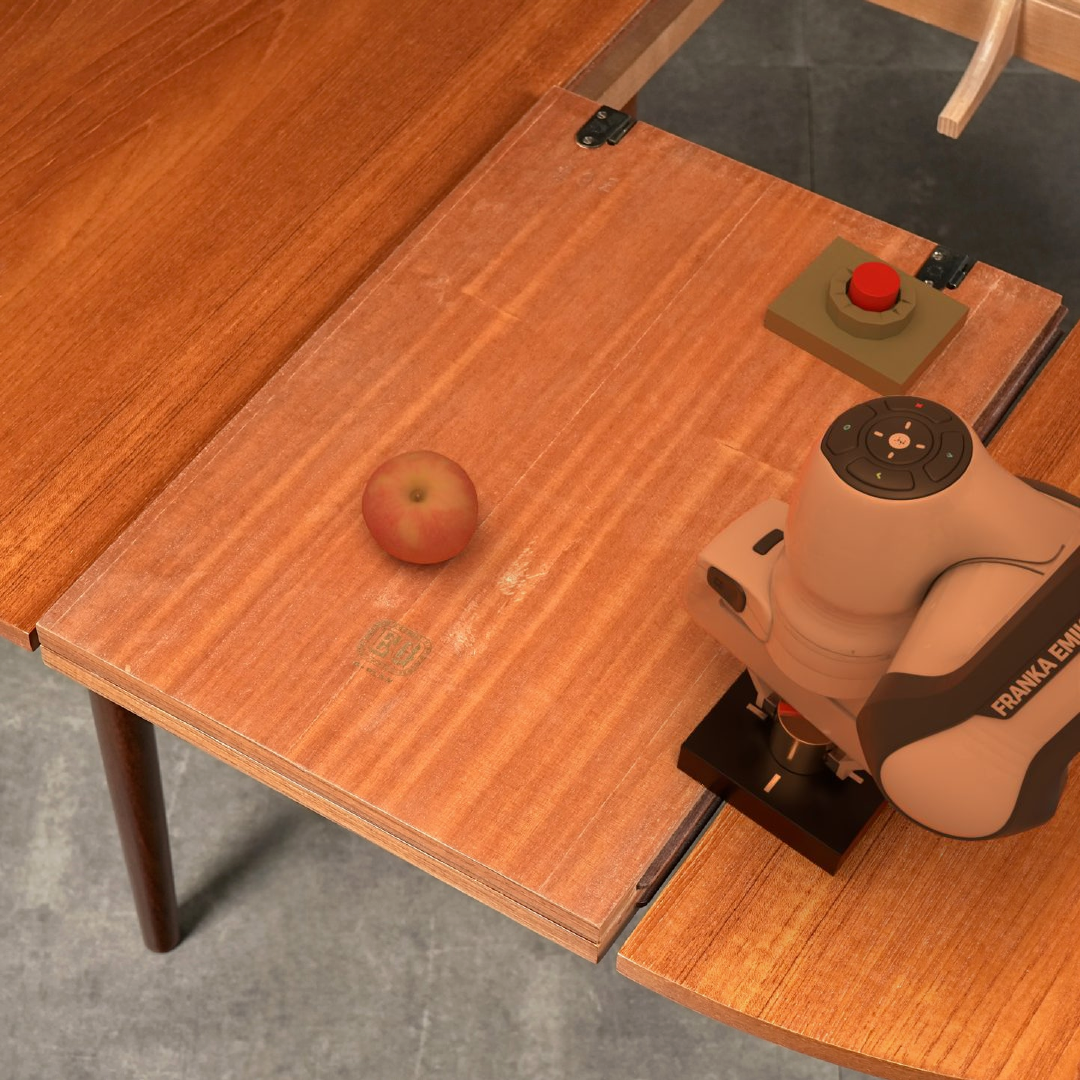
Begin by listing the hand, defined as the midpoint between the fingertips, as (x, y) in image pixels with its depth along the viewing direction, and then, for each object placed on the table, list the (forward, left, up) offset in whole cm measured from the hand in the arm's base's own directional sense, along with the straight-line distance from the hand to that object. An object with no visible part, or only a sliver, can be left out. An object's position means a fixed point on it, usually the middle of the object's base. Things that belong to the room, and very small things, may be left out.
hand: (806, 735), depth 106 cm
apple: (+30, +2, -4) cm, 30 cm away
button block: (+17, -35, -4) cm, 39 cm away
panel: (0, 0, -4) cm, 4 cm away
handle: (0, 0, -1) cm, 1 cm away
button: (+17, -35, 0) cm, 39 cm away
